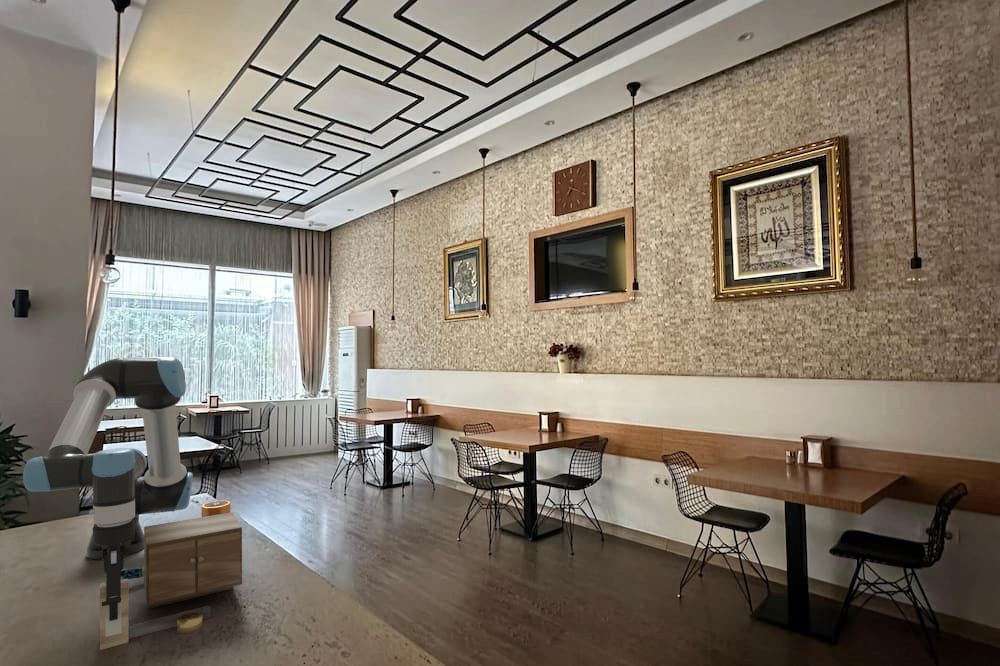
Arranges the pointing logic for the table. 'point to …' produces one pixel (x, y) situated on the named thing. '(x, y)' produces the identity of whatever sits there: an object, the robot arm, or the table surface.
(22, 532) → the table surface
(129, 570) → the knife
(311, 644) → the table surface
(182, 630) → the token
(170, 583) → the cabinet
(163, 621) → the blade tool
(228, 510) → the battery
